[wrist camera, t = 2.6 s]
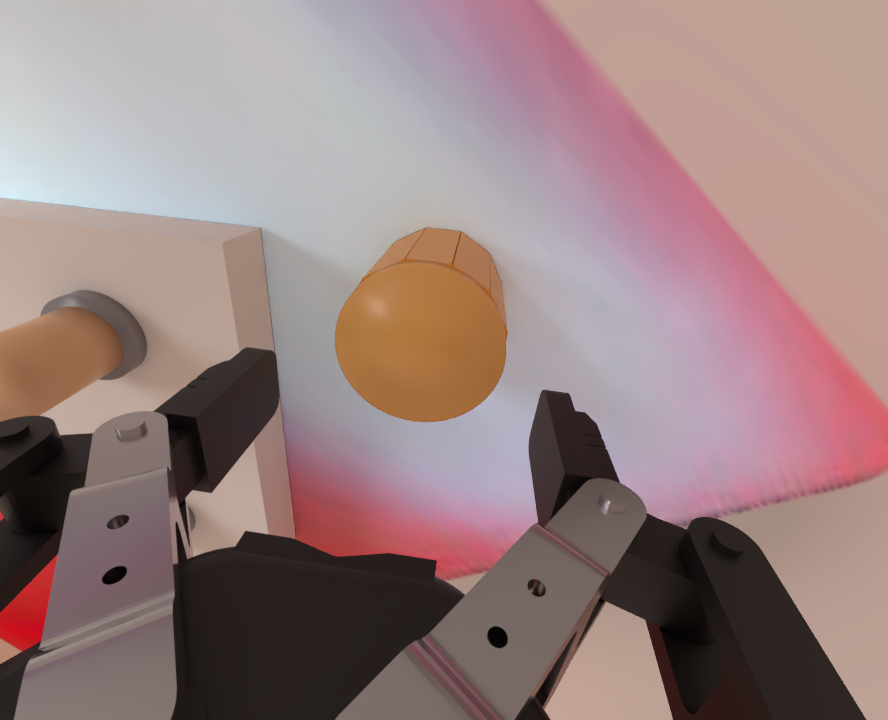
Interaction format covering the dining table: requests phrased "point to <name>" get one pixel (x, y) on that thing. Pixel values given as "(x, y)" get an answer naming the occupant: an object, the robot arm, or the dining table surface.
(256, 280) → the plate with orange knobs
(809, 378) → the dining table surface
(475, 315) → the cap
